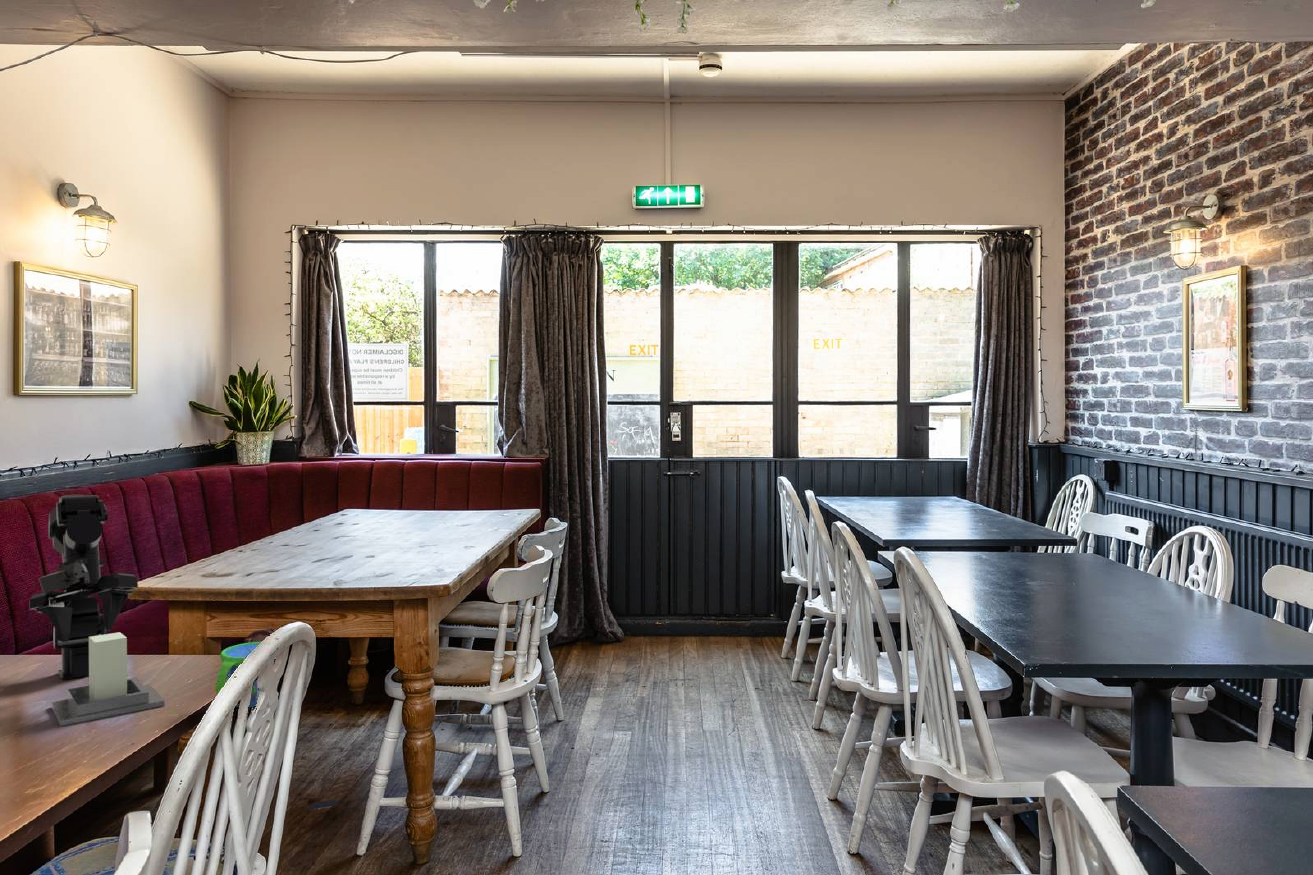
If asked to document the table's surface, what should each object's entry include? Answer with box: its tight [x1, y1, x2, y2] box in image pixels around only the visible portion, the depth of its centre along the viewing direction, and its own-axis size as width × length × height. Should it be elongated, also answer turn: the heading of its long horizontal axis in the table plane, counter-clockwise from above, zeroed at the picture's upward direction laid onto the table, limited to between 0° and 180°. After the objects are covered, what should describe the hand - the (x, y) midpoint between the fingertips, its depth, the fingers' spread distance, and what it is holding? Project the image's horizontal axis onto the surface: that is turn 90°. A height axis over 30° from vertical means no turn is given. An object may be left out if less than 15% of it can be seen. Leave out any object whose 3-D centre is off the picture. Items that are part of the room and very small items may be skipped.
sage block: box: [88, 631, 128, 701], centre depth 158 cm, size 5×5×12 cm
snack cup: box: [215, 642, 261, 708], centre depth 161 cm, size 16×10×10 cm
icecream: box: [243, 626, 276, 644], centre depth 188 cm, size 7×7×15 cm
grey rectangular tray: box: [50, 677, 166, 727], centre depth 158 cm, size 12×16×3 cm
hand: (86, 636), depth 164 cm, fingers open, 9 cm apart
